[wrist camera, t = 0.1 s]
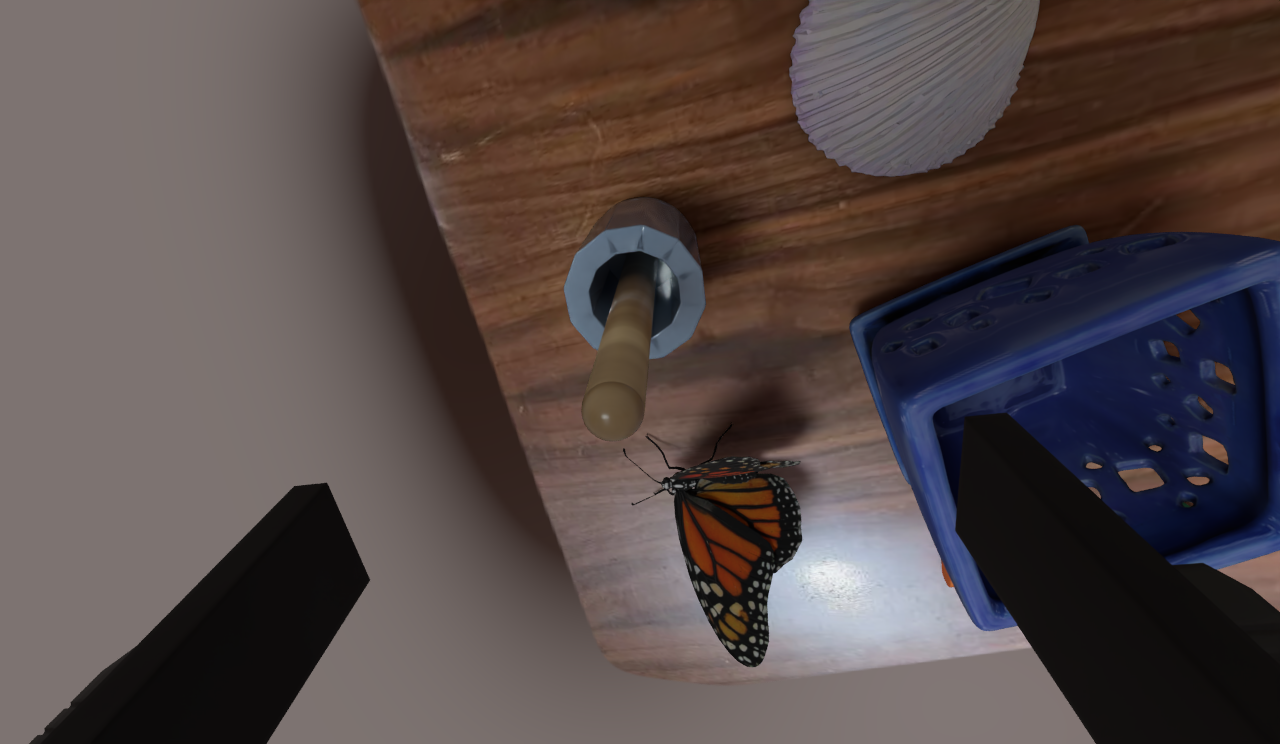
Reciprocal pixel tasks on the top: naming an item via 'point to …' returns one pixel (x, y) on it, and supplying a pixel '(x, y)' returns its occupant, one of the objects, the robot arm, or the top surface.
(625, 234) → the holder
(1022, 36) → the seashell
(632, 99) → the top surface
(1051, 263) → the flower pot
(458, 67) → the top surface
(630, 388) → the stick
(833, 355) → the top surface
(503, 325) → the top surface
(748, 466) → the butterfly
